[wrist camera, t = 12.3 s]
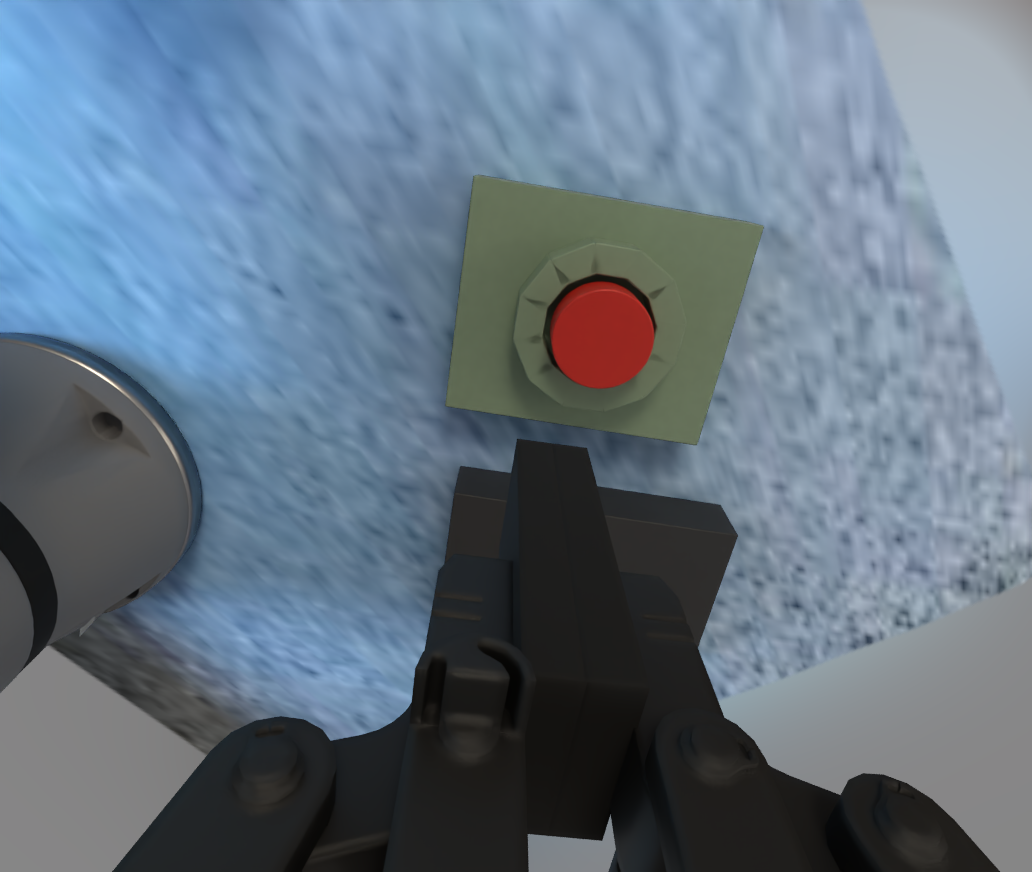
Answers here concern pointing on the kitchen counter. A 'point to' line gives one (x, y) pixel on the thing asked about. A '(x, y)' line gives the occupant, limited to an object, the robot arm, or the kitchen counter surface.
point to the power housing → (580, 260)
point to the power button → (601, 335)
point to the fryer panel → (616, 536)
